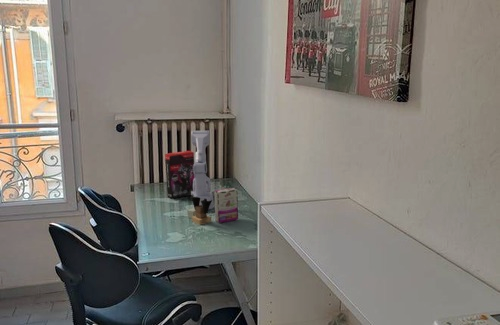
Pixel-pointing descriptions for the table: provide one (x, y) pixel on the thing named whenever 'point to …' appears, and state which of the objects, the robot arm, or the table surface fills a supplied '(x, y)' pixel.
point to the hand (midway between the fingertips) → (201, 211)
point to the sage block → (191, 212)
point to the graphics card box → (179, 173)
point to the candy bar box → (226, 205)
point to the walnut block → (200, 212)
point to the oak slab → (201, 220)
